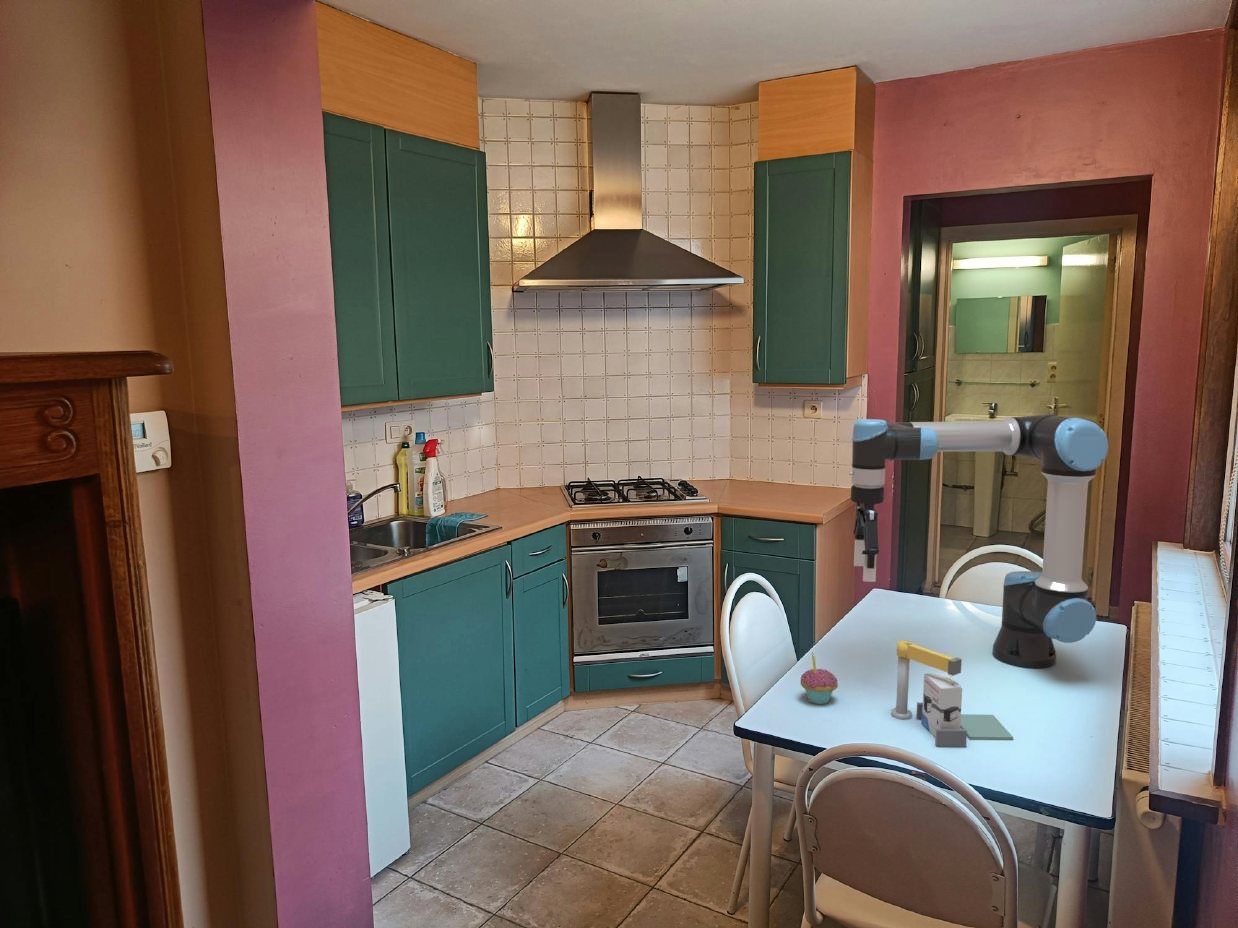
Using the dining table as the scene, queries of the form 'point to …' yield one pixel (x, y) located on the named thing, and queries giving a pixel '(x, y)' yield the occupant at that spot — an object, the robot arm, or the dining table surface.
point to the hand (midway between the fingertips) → (864, 573)
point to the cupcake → (818, 684)
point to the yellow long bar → (929, 657)
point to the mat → (984, 727)
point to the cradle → (901, 712)
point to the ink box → (941, 702)
